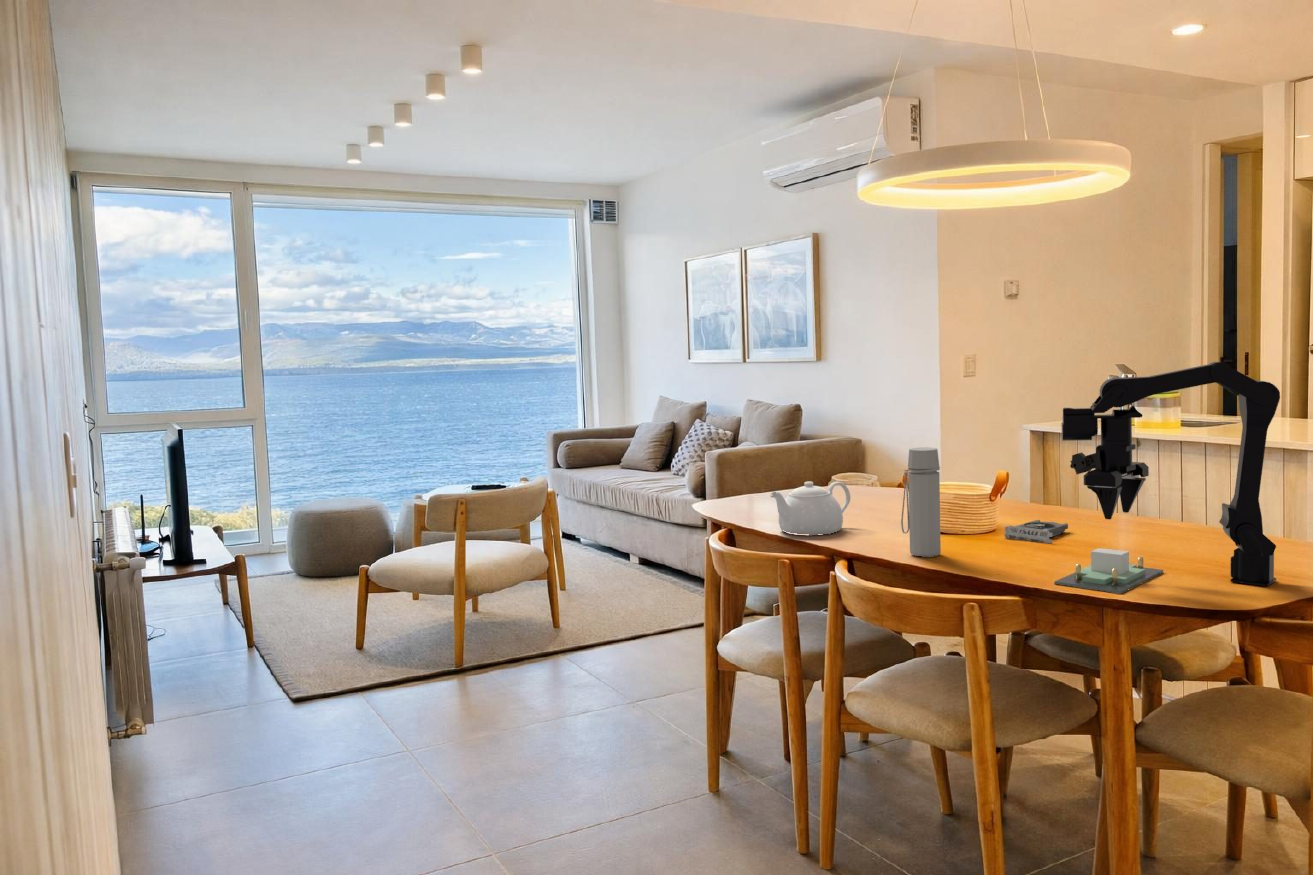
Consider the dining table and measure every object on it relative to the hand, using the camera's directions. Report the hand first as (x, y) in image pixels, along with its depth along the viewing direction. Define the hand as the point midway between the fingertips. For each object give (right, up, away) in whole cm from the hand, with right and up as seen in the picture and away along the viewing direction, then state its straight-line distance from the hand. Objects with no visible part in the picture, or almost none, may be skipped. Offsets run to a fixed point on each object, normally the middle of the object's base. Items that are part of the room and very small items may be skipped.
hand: (1117, 515), depth 200 cm
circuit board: (-1, -12, 0) cm, 12 cm away
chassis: (-1, -13, 0) cm, 13 cm away
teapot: (-52, -10, +65) cm, 84 cm away
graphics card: (+2, -9, +45) cm, 46 cm away
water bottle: (-32, -12, +30) cm, 45 cm away
